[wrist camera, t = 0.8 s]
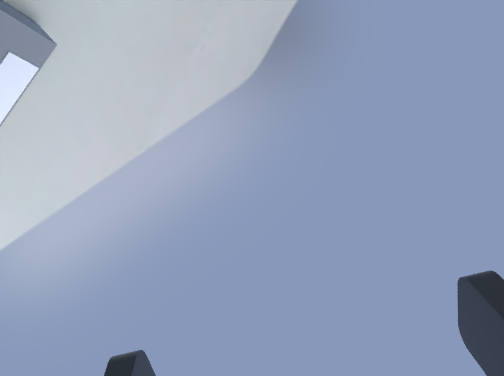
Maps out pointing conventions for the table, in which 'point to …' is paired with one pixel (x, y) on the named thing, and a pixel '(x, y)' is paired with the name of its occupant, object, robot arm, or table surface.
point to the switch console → (19, 55)
